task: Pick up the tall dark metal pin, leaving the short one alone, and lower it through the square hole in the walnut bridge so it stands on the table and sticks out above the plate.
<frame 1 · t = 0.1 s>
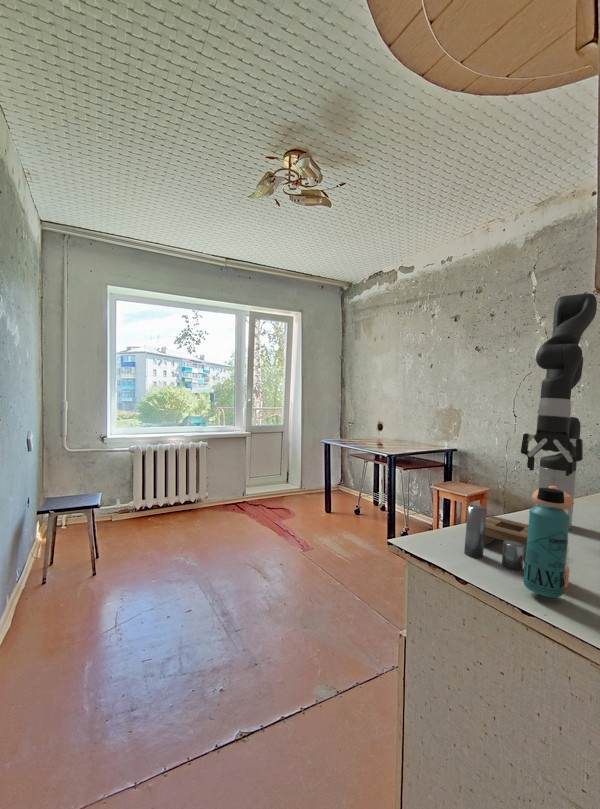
hand: (548, 473, 105), 17 cm above the table, tool pointing down, fingers open, 8 cm apart
tall pin: (473, 554, 87), on the table
hole bridge: (508, 546, 94), on the table
beverage bottle: (542, 597, 69), on the table
pepper shaker: (546, 580, 76), on the table
short pin: (512, 567, 82), on the table
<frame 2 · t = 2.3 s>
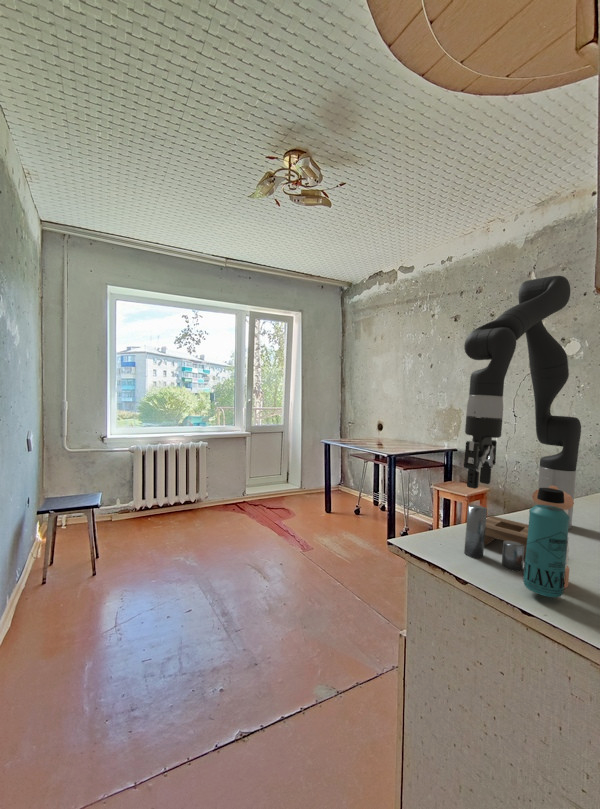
hand: (478, 485, 87), 16 cm above the table, tool pointing down, fingers open, 8 cm apart
nothing on the table moved.
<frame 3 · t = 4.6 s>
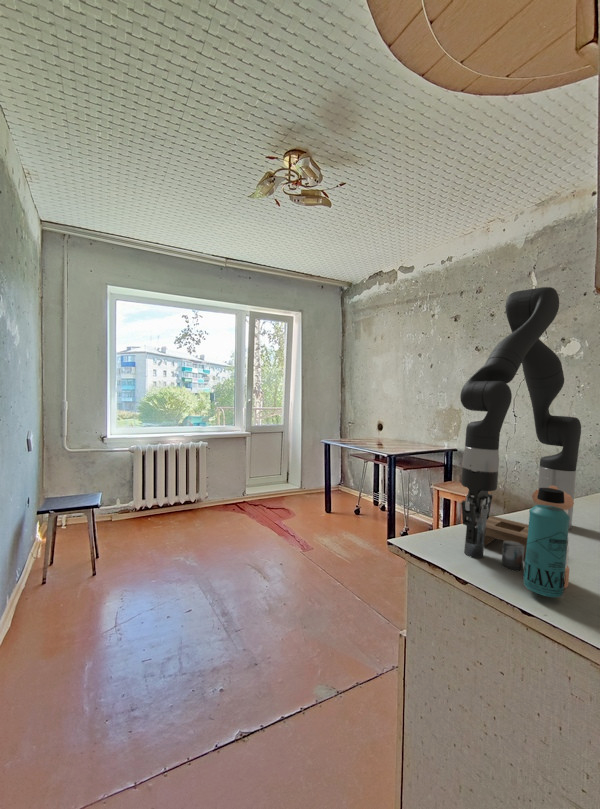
hand: (474, 540, 87), 3 cm above the table, tool pointing down, fingers closed on tall pin, 4 cm apart
tall pin: (473, 554, 87), on the table, touching gripper
everything else where it was.
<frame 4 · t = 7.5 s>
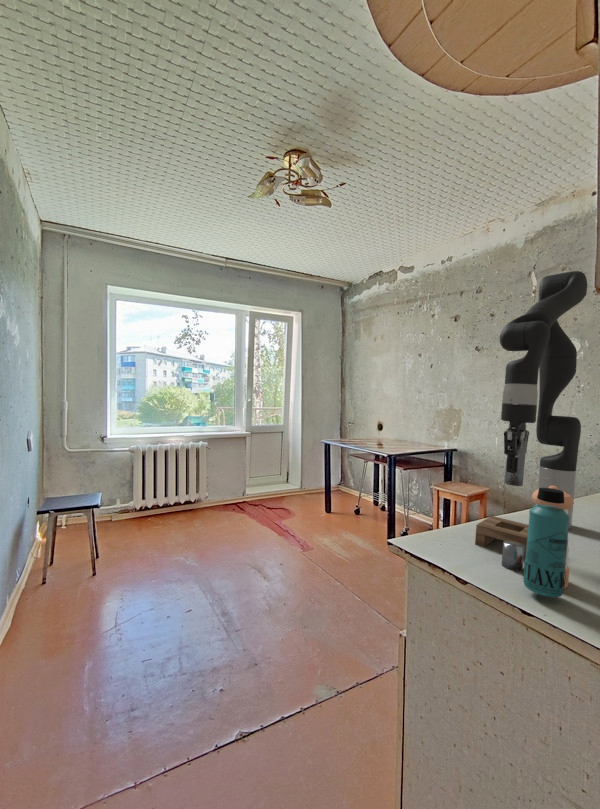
hand: (514, 471, 93), 19 cm above the table, tool pointing down, fingers closed on tall pin, 4 cm apart
tall pin: (513, 484, 93), point 16 cm above the table, touching gripper
everything else where it was.
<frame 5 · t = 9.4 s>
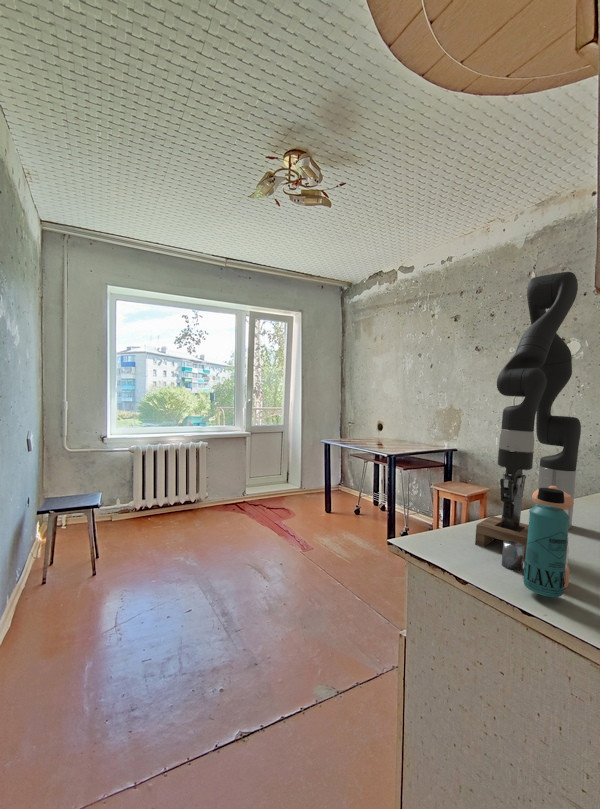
hand: (510, 516, 94), 7 cm above the table, tool pointing down, fingers closed on tall pin, 4 cm apart
tall pin: (509, 529, 94), point 4 cm above the table, touching gripper
everything else where it was.
when the fingers open (6 cm above the table, at t = 10.8 s): tall pin drops 3 cm, on the table.
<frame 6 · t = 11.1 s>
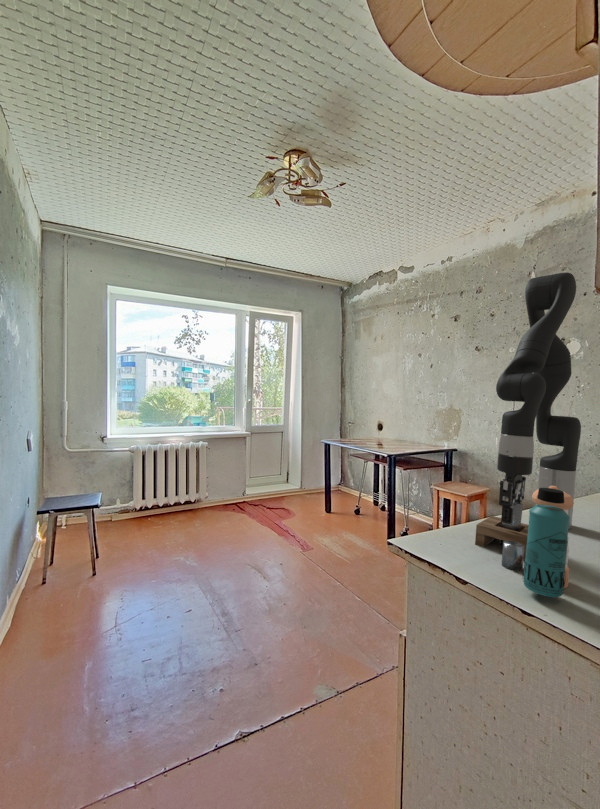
hand: (510, 519, 94), 7 cm above the table, tool pointing down, fingers open, 6 cm apart
tall pin: (508, 546, 94), on the table
everything else where it was.
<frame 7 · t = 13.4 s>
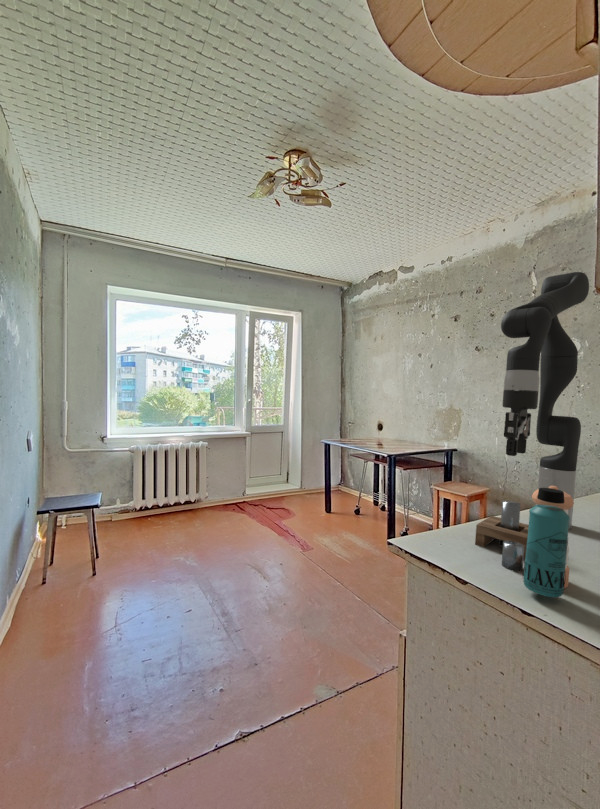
hand: (515, 454, 93), 23 cm above the table, tool pointing down, fingers open, 8 cm apart
nothing on the table moved.
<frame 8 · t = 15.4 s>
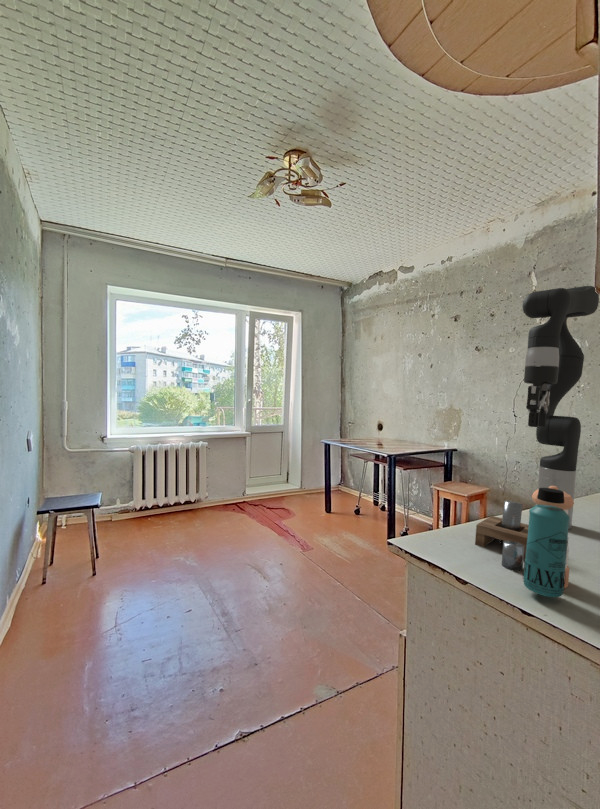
hand: (536, 426, 100), 30 cm above the table, tool pointing down, fingers open, 8 cm apart
nothing on the table moved.
at the end: tall pin 0.0 cm off-centre on the hole bridge, point 0.0 cm above the hole bridge's base; tall pin tilted 2°; short pin moved 0.1 cm from its start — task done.
